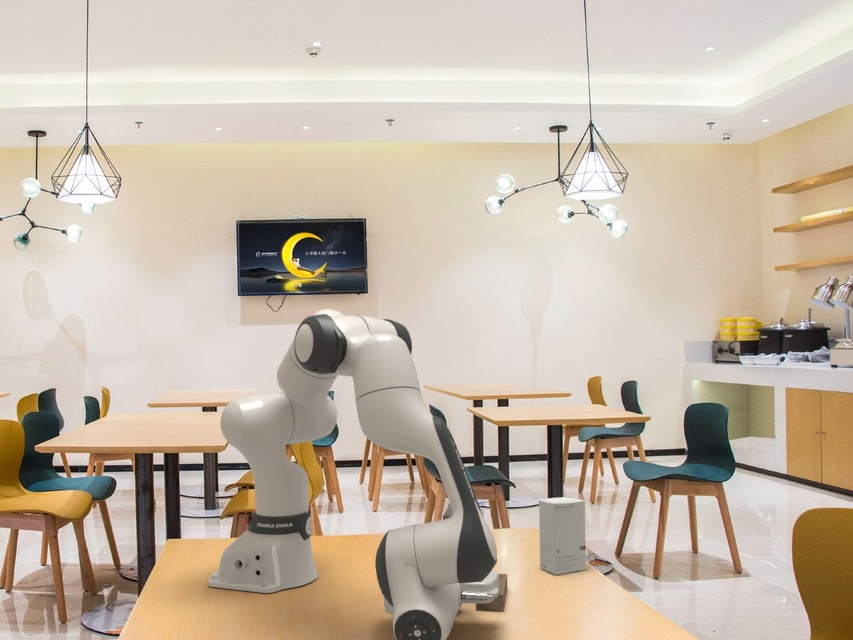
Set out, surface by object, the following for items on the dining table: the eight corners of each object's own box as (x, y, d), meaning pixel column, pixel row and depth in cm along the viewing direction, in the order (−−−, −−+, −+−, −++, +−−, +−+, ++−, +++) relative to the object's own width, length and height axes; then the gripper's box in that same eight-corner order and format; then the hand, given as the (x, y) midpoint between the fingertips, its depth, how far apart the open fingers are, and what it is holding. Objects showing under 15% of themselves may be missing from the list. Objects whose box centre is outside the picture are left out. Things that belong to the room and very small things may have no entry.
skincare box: (554, 576, 156) (553, 504, 156) (538, 568, 161) (536, 498, 161) (588, 570, 159) (586, 499, 159) (571, 562, 165) (569, 494, 165)
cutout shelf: (395, 607, 140) (395, 591, 140) (407, 586, 151) (407, 571, 151) (503, 611, 136) (503, 594, 136) (507, 589, 148) (507, 574, 148)
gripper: (497, 578, 123) (503, 554, 136) (375, 574, 126) (392, 551, 140) (498, 617, 122) (503, 589, 136) (375, 612, 126) (393, 585, 140)
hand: (446, 570), depth 138 cm, fingers closed on pill bottle, 6 cm apart
